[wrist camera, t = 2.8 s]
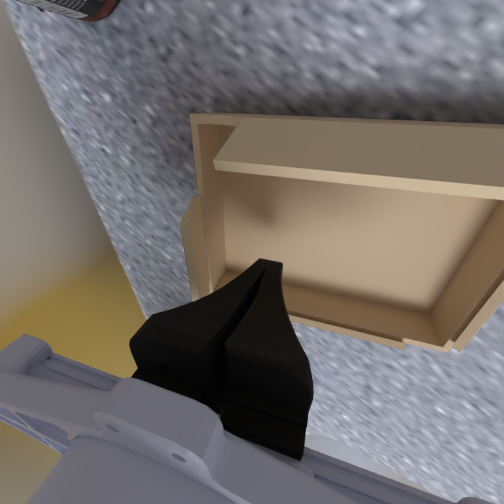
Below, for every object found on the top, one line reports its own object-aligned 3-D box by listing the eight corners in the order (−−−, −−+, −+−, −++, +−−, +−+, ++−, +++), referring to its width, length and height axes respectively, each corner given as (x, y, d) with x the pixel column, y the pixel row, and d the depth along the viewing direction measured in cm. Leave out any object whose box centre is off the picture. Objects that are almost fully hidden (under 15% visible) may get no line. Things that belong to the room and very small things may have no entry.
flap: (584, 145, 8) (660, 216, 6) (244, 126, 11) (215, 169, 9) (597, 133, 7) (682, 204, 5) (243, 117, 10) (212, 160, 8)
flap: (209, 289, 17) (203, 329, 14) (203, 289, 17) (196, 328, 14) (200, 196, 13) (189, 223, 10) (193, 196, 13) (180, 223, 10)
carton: (452, 344, 17) (475, 393, 14) (224, 290, 22) (206, 320, 19) (621, 128, 10) (746, 139, 7) (215, 112, 14) (182, 114, 11)
